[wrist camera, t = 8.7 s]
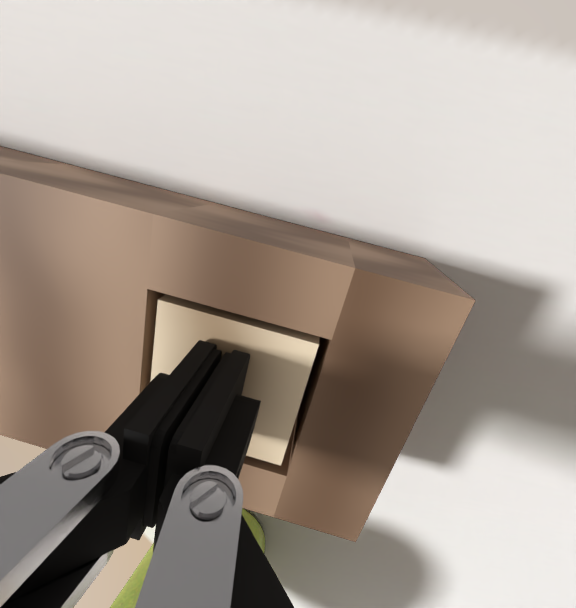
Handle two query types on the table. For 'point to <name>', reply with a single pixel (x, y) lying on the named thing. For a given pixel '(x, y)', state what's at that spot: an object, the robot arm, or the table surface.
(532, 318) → the table surface
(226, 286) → the peg board
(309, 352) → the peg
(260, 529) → the plant pot
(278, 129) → the table surface
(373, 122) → the table surface
